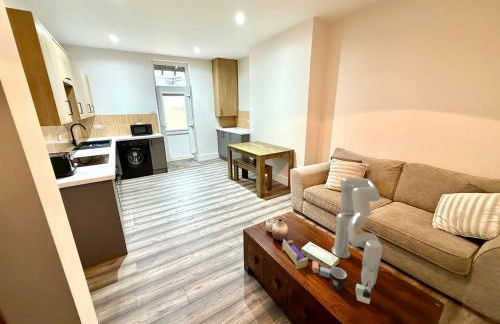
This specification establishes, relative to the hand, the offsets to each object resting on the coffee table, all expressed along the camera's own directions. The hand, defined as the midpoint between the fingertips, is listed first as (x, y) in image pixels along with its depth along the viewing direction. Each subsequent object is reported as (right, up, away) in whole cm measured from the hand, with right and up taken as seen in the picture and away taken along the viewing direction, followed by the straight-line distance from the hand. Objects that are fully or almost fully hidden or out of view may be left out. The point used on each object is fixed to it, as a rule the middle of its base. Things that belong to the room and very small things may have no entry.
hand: (365, 290), depth 110 cm
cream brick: (0, -6, +2) cm, 7 cm away
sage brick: (-1, -2, +1) cm, 3 cm away
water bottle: (+11, -3, +15) cm, 19 cm away
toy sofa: (-32, +2, +34) cm, 46 cm away
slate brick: (-15, -2, +19) cm, 24 cm away
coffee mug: (-11, -5, +9) cm, 15 cm away
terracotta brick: (-20, -1, +23) cm, 31 cm away
